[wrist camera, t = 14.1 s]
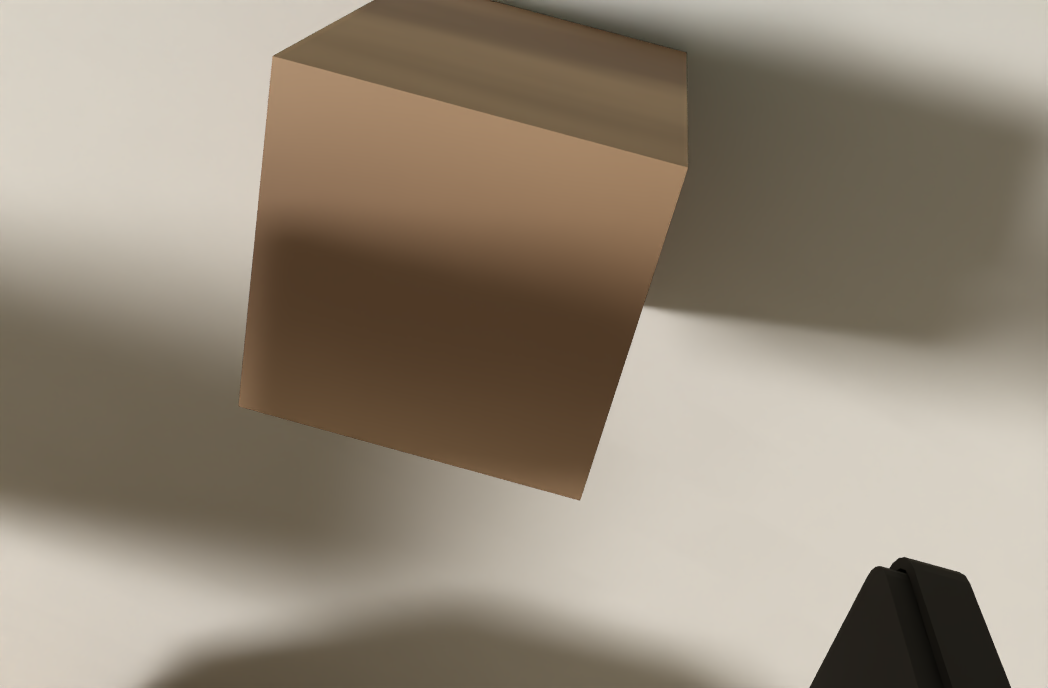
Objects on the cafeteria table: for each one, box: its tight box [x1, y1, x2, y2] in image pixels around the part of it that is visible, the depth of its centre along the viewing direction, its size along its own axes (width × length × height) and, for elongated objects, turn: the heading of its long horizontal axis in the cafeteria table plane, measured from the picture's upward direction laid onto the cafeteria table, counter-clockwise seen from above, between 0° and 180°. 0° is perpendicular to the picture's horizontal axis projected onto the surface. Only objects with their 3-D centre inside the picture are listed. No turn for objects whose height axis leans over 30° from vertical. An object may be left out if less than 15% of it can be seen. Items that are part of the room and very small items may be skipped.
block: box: [238, 0, 688, 500], centre depth 14 cm, size 4×4×6 cm
